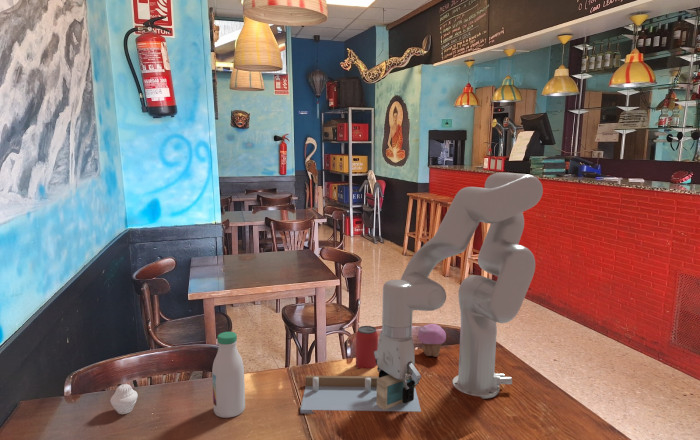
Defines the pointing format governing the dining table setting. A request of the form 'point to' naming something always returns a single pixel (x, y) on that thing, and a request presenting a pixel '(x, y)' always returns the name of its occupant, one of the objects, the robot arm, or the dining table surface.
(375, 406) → the ledge
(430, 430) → the dining table surface
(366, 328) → the beer can
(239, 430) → the dining table surface
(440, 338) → the cupcake
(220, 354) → the milk bottle
